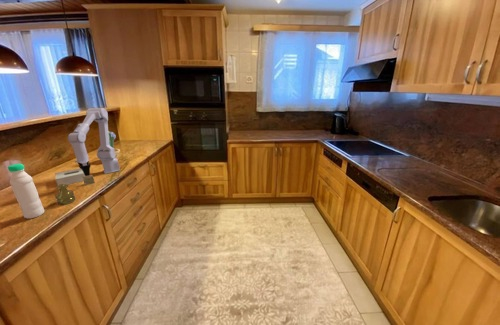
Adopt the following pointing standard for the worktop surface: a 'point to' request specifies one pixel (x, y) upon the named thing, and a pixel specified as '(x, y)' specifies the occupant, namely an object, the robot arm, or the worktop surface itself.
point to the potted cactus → (112, 143)
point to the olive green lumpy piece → (64, 195)
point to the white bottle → (25, 192)
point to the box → (69, 176)
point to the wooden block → (88, 180)
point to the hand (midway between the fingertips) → (86, 174)
